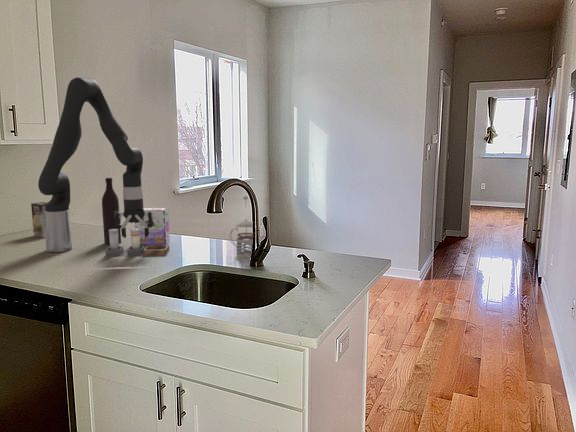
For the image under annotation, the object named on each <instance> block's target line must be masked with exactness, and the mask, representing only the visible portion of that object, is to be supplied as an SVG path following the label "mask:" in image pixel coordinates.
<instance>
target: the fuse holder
mask: <svg viewBox="0 0 576 432" xmlns="http://www.w3.org/2000/svg"><path fill="white" fill-rule="evenodd" d="M145 247H146V245H140V249H132V246H131V245H130V246H129V247H128V248H126V250H125V249H124V246H123V245H122V246H121V245H119V249H114V250H110V246H108V247H107V248H105V256H104V257H105V258H110V257H113V258H114V257H142V256H143V250H144V248H145Z"/></svg>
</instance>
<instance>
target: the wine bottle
mask: <svg viewBox="0 0 576 432" xmlns="http://www.w3.org/2000/svg"><path fill="white" fill-rule="evenodd" d="M104 181H105V185H106V186H105V190H104V192H103V195H102V198H101V208H102V224H103V225H102V226H103V239H104V241H103V242H104V245H107V246H108V245H109V246H110V238H109V230H110V229H118V240H119V245H120V244H122V232H121V228H119V227H116V213H118V212H120V203H119V197H118V195H117V192H115V190H114V188H113V187H114V186H113V178H112V177H106V178H105V180H104Z"/></svg>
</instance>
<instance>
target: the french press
mask: <svg viewBox="0 0 576 432" xmlns="http://www.w3.org/2000/svg"><path fill="white" fill-rule="evenodd" d="M242 199H243V200H245V205H244V206H247V200H248V199H249V197H248V196H246V195H245V196H243V198H242ZM253 222H254V221H252V220H248V219H245V220H241V221H239V222H237V223H236V224H235V227H233V229H231V231H230V232H229V237H230V238H229V240H230V243H231V244H232V245H233V246H235V248H236V249H235V251H236V254H235V255H236V256H235V257H234V258H235V259H236V260H235V259H234V260H235V261H238V260H242V261H241V262H251V261H250V258H251V252H252V249H253V248H252V246H253V245H252V243H253V237H254V236H253V233H254V232H247V230H245V232H239V233H237V234H236V235H237V236H238V237H237V238H236V243H235V242H234V239H233V238H232V233H233V231H234V230H235V231H236V232H238V230H239V228H253Z"/></svg>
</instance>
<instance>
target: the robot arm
mask: <svg viewBox="0 0 576 432" xmlns="http://www.w3.org/2000/svg"><path fill="white" fill-rule="evenodd" d="M85 103H89V104H90V106H91V107H92V108H93V110H94V111H95V113H96V114H97V117H98V121H99V126H100V128H101V129H100V130H101V131H102V133H103V134H104V136H105V137H106V139H107V141H109V143H110V145H111V146H112V147H111V148H112V150H113V152H114V154H115V157H116V159H117V160H118V162H119V163H121V164H122V165H124V166H126V169H125V171H124V173H122V186H123V187H122V199H123V212H121V211H119V212H118V213H116V227H119V228H120V231H121V237H122V238H125V239H126V237H127V228H126V227H127V225H128V224H129V223H130V224H132V223H134V224H135V223H138V222H140V223H141V224H143V226H144V227H145V228H144V229H145V237H147V236H148V235H149V227H151V226H152V225H153V217H152V212H151V211H149V212H144V208H145V207H144V194H143V187H142V170H143V164H144V158H143V154H142V151H141V150H140V149H139V148H138V147H133V146H132V147H130V145H129V143H128V139H129V138H128V135H127V134H126V131H125V130H124V129H123V127H122V126H121V125H120V123H119V122H118V120H117V119H116V116H115V115H114V114H113V111H112V109H111V107H110V106H109V104H108V102H107V99H106V97H105V95H104V92H103V91H102V89H101V87H100V85H99V84H98V82H97V81H96V80H94V79H93V78H89V77H79V76H78V77H74V78H72V79H71V80H70V81H69V82H68V85H67V88H66V94H65V99H64V103H63V108H62V113H61V116H60V119H59V122H58V125H57V128H56V131H55V135H54V137H53V142H52V144H51V148H50V150H49V153H48V156H47V160H46V162H45V164H44V167H43V169H42V171H41V174H40V175H39V178H38V183H37V185H38V190H39V192H40V193H41V194H42V195H44V196H51V199H50V200H49V201H48V202H46V204H45V215H46V226H47V229H45V237H46V238H45V245H46V253H47V252H50V253H62V252H68V251H71V250H73V241H72V231H71V229H72V228H71V219H70V218H71V216H70V204H71V183H70V178H69V176H68V175H67V174H66V173H65V172H63V171H61V170H62V169H63V168H64V165H65V164H66V163H67V162H68V161H69V160H70V159H71V157H72V156H73V155H74V154H75V152H76V151H77V149H78V148H79V145H80V142H81V138H82V133H83V132H82V124H81V118H80V117H81V113H82V111H83V107H84V105H85ZM144 215H146V216H147V217H148V218H149V224H148V223H147V222H146V221H145V220H144V218H143V217H144ZM122 217H124V218H125V220H124V221H123V223H121V221H122V220H121V219H122Z"/></svg>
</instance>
